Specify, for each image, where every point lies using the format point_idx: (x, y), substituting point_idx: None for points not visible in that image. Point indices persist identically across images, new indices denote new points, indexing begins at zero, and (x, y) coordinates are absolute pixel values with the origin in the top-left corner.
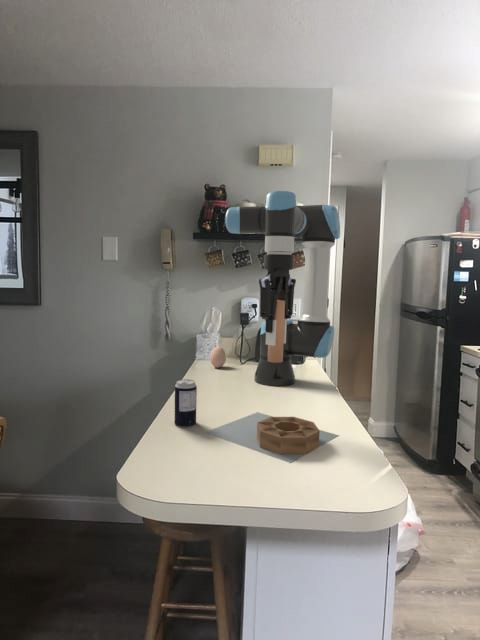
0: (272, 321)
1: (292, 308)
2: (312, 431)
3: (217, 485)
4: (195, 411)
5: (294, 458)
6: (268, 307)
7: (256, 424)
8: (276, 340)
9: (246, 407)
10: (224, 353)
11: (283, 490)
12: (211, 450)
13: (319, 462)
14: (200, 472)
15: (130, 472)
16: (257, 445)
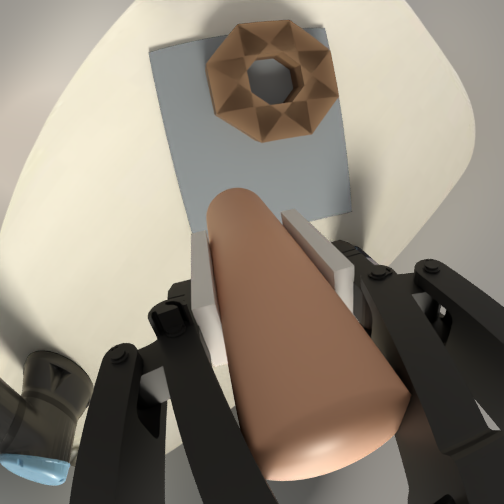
0: (353, 276)
1: (98, 391)
2: (254, 29)
3: (425, 70)
4: None
5: (307, 32)
6: (482, 297)
7: (250, 189)
8: (279, 222)
9: None
10: None
11: (376, 4)
12: (379, 150)
13: (274, 6)
14: (423, 107)
15: (462, 165)
16: None
